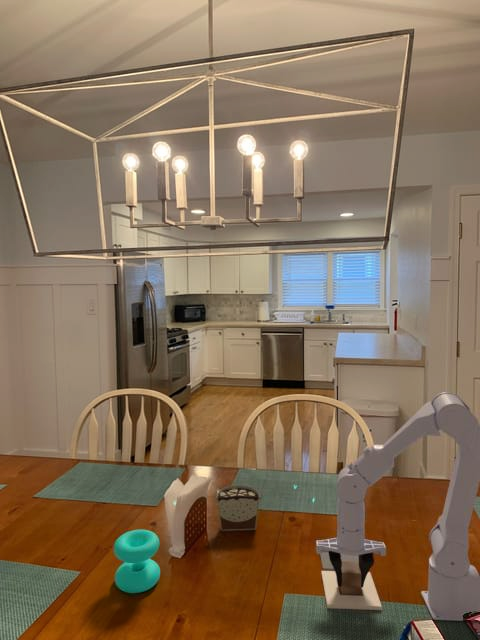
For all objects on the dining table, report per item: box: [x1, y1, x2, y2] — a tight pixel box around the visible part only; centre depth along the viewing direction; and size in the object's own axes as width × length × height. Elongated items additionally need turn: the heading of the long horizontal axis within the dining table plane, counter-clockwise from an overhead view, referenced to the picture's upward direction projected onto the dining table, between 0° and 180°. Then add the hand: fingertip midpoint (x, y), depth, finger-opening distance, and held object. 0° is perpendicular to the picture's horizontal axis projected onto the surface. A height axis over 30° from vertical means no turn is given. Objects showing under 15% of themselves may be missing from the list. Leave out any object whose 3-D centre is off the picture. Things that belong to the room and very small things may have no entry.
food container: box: [215, 484, 262, 532], centre depth 128 cm, size 12×6×10 cm, turn 92°
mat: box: [319, 552, 359, 571], centre depth 113 cm, size 10×10×1 cm
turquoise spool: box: [113, 529, 161, 594], centre depth 105 cm, size 10×10×10 cm
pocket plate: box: [321, 570, 383, 611], centre depth 101 cm, size 11×11×1 cm
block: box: [339, 561, 362, 596], centre depth 101 cm, size 4×4×6 cm
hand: (349, 584), depth 101 cm, fingers closed on block, 4 cm apart
